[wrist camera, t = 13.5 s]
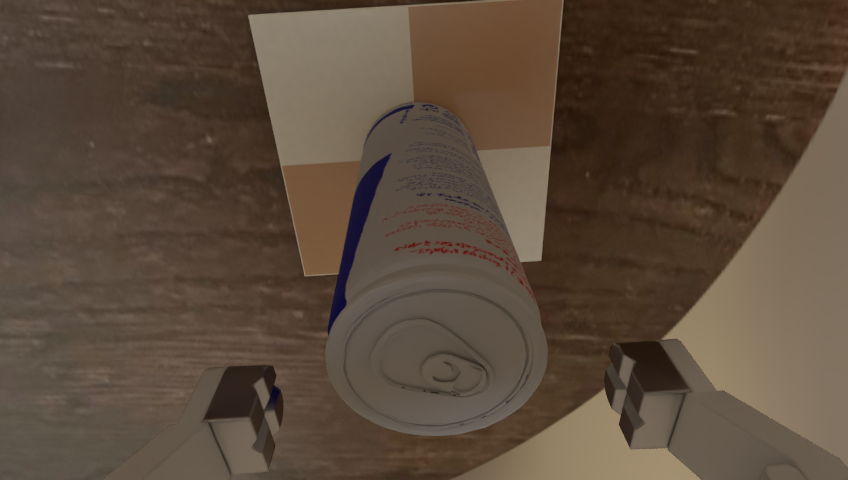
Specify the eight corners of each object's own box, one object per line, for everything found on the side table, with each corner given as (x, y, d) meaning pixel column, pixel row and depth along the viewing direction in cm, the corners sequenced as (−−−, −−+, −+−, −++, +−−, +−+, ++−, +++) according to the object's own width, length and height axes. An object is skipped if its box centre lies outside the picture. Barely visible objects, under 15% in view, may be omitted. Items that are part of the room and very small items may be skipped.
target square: (563, -5, 21) (564, -5, 21) (540, 258, 28) (541, 260, 28) (248, 14, 21) (248, 14, 21) (305, 274, 28) (304, 276, 28)
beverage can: (355, 105, 23) (296, 288, 10) (470, 93, 23) (557, 262, 10) (372, 208, 26) (343, 453, 13) (474, 197, 26) (548, 433, 13)
